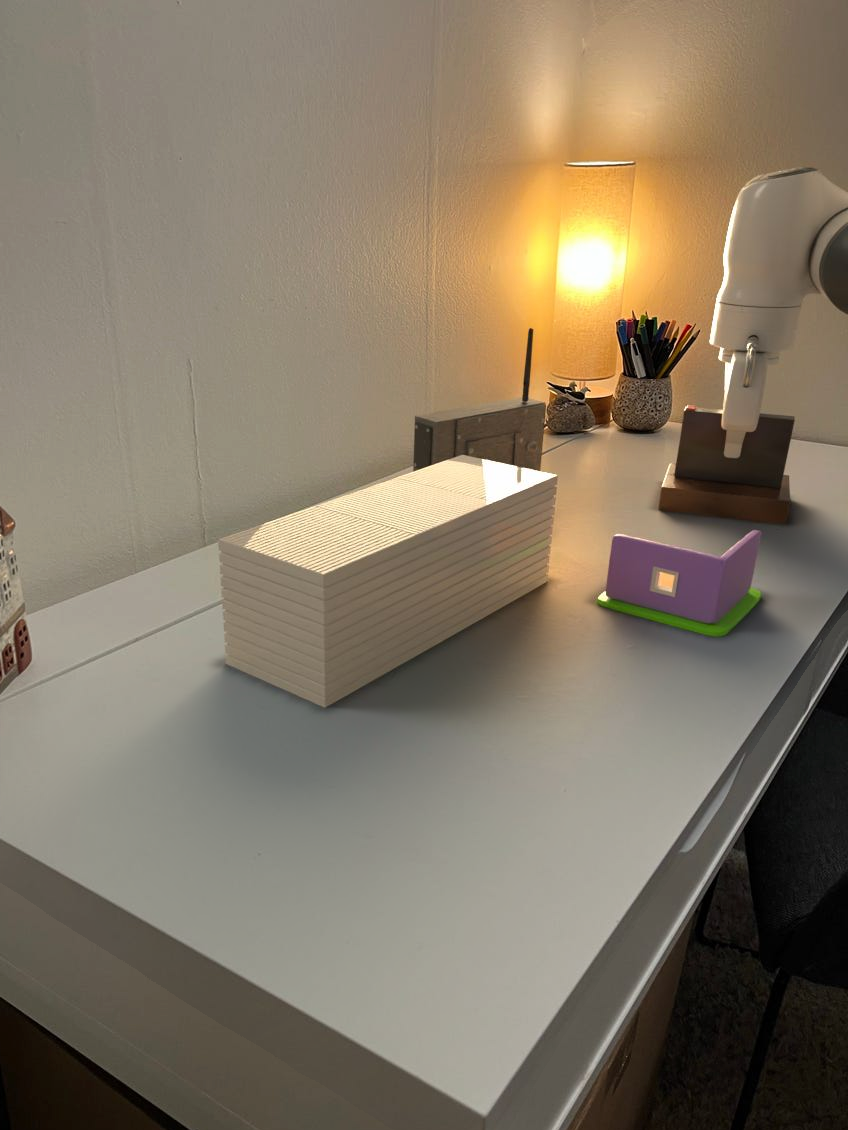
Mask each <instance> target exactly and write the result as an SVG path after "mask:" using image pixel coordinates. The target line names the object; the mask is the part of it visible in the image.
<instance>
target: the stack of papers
mask: <svg viewBox="0 0 848 1130" xmlns="http://www.w3.org/2000/svg"><path fill="white" fill-rule="evenodd" d="M558 478H559V475H557V474H553V473H548V472H544V471H541V470H540V471H535V470H531V469H526V468H521V467H517V466H512V465H507V464H503V463H498V462H493V461H489V460H484V459H480V458H475V457H471V456H466V455H460V456H458V457H455V458H452V459H449V460H446V461H443V462H440V463H437V464H434V465H432V466H429V467H426V468H423V469H420V470H417V471H414V472H413V471H412V472H409V473H405V474H402V475H400V476H397V477H394V478H391V479H389V480H385V481H383V482H380V483H377V484H374V485H371V486H368V487H366V488H362V489H360V490H356V491H353V492H352V493H351V492H350V493H349V494H345V495H342V496H340V497H336V498H334V499H330V500H328V501H325V502H323V503H320V504H317V505H313V506H311V507H308V508H305V509H303V510H299V511H297V512H293V513H290V514H288V515H285V516H282V517H279V518H277V519H273V520H271V521H268V522H265V523H262V524H259V525H256V526H252V527H251V528H248V529H245V530H242V531H239V532H236V533H233V534H230V535H228V536H225V537H221V538H219V539H217V542H218V543H217V544H218V550H219V551H220V552H219V553H218V557H219V558H218V559H219V563H221V564H220V565H219V573H220V575H222V576H220V586H221V587H222V588H221V598H223V599H222V600H221V606H222V609H223V611H222V620H223V621H225V622H223V632H225V633H224V634H223V637H224V643H226V644H224V653H225V654H226V655H225V664H226V665H228V666H229V667H232V668H234V669H236V670H239V671H241V672H244V673H246V674H248V675H250V676H253V677H254V678H257V679H260V680H261V681H263V682H266V683H268V684H270V685H273V686H275V687H277V688H280V689H282V690H284V691H286V692H289V693H291V694H293V695H294V696H295V695H296V696H297V697H300V698H302V699H304V700H306V701H308V702H311V703H313V704H316V705H318V706H320V707H323V708H328V707H329V706H331V705H333V704H334V703H336V702H338V701H340V700H341V699H343V698H345V697H346V696H348V695H351V694H352V693H353V692H355V691H357V690H359V689H361V688H363V687H364V686H366V685H368V684H369V683H372V682H373V681H375V680H376V679H378V678H380V677H382V676H384V675H385V674H388V673H389V672H391V671H392V670H394V669H396V668H397V667H399V666H401V665H404V663H406V662H408V661H410V660H412V659H414V658H415V657H417V656H419V655H421V654H422V653H424V652H426V651H428V650H429V649H431V648H433V647H434V646H437V645H438V644H440V643H442V642H443V641H446V640H447V639H449V638H450V637H453V636H454V635H456V634H457V633H459V632H461V631H462V630H465V629H466V628H468V627H470V626H472V625H473V624H476V623H477V622H479V621H480V620H482V619H484V618H485V617H487V616H490V615H491V614H493V613H495V612H497V611H498V610H500V609H502V608H503V607H505V606H506V605H508V604H510V603H513V602H514V601H515V600H517V599H520V598H521V597H523V596H524V595H526V594H529V593H530V592H532V591H534V590H535V589H537V588H538V587H540V586H542V585H544V584H545V583H547V582H548V580H549V579H548V577H549V575H548V573H549V568H550V565H549V564H550V559H551V557H550V554H551V548H552V546H551V545H552V539H553V537H552V535H553V528H554V527H553V525H554V519H555V518H554V515H555V509H556V507H555V505H556V495H557V486H556V485H558Z"/></svg>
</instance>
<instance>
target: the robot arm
mask: <svg viewBox="0 0 848 1130" xmlns="http://www.w3.org/2000/svg"><path fill="white" fill-rule="evenodd" d="M732 209H733V210H732V213H731V216H730V221H729V226H728V230H727V235H726V241H725V246H724V252H723V258H722V259H723V261H722V262H723V267H724V268H723V270H724V271H723V272H724V273H723V274H724V276H723V281H722V284H721V287H720V289H719V291H718V294H717V297H716V302H715V308H714V314H713V320H712V325H711V332H710V339H709V344H710V345H712V347H716V348H720V349H719V354H718V360H719V361H721V362H722V363H725V370H724V395H723V396H724V397H723V403H722V410H723V412H722V421H721V426H722V428H723V429H724V430H727V433H726V443H725V449H724V456H725V457H728V458H738V457H739V456H740V453H741V448H742V443H743V440H744V437H745V434H746V432H753V431H755V429H756V427H757V424H758V420H759V414H760V413H761V408H762V404H763V403H762V402H763V398H764V392H765V386H766V380H767V375H768V367H769V366H775V365H777V364H779V360H780V355H781V353H782V352H788V351H791V350H793V349H794V346H795V340H796V336H797V331H798V325H799V321H800V316H801V309H802V306H803V300H804V298H805V297H806V296H808V295H810V294H812V295H813V294H814V295H815V294H816V295H822V296H823V297H825V298H826V299H828V300H829V301H830V302H831V304H832V305H833V306H834V307H835V308H836V309H838V310H839V311H840V312H842V313H843V314H845V315H848V191H846V190H845V189H843V188H841V187H839V186H838V185H836V184H835V183H833V182H832V181H830V179H828V178H827V177H825V176H824V174H823V173H822V172H821V171H820V169H818V168H815V167H811V166H799V167H795V168H787V169H780V170H776V171H770V172H766V173H763V174H761V173H760V174H758V175H756V176H754V177H753V178H751V179H750V180H749V181H747V182H746V183H745V184H744V185H743V186H742V188H741V189H740V190H739V193H738V195H737V197H736V200H735V203H734V206H733V208H732Z"/></svg>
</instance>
